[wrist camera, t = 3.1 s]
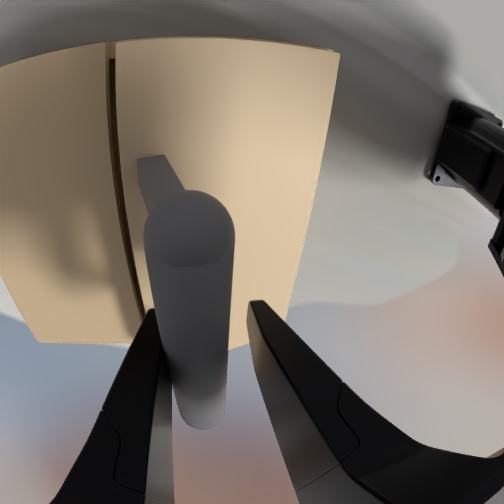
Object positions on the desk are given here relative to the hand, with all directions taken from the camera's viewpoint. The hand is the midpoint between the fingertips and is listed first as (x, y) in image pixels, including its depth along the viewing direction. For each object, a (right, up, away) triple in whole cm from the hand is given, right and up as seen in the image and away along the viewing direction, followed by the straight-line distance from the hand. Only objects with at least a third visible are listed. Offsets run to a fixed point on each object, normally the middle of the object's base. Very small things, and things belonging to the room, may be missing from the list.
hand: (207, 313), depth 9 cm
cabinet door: (0, +2, +3) cm, 4 cm away
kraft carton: (-4, +6, +7) cm, 10 cm away
